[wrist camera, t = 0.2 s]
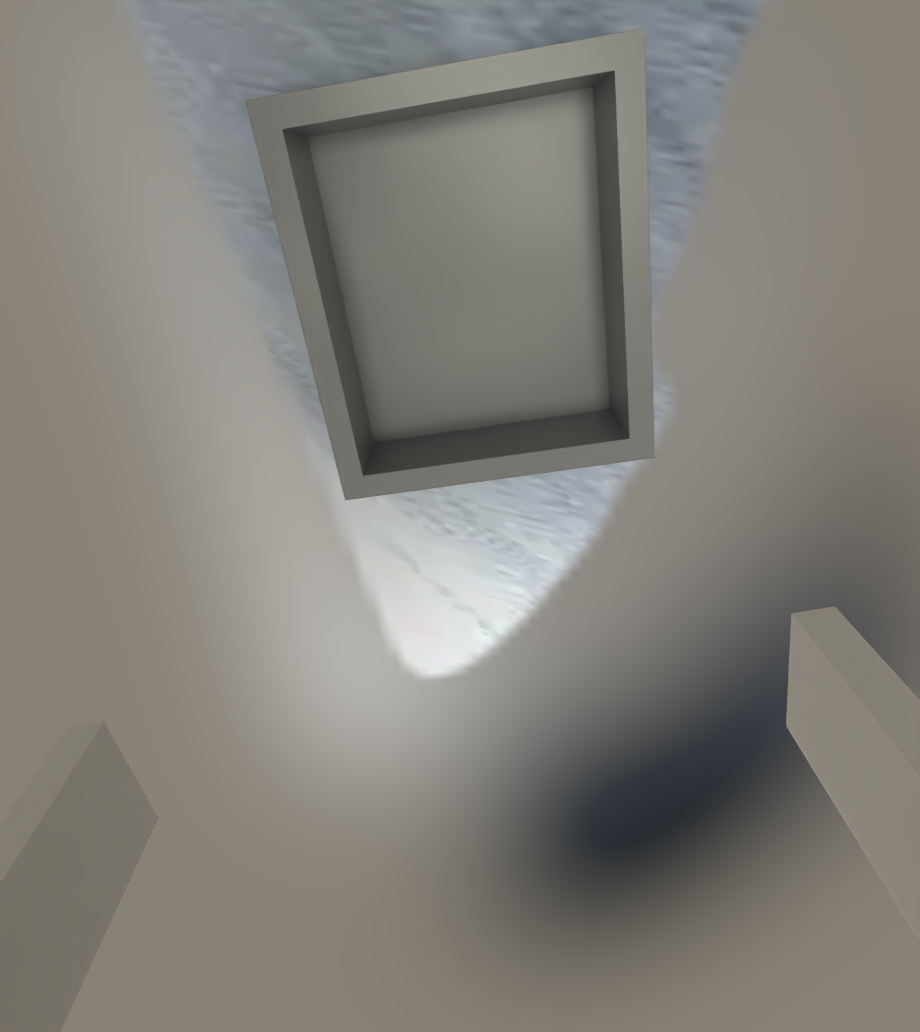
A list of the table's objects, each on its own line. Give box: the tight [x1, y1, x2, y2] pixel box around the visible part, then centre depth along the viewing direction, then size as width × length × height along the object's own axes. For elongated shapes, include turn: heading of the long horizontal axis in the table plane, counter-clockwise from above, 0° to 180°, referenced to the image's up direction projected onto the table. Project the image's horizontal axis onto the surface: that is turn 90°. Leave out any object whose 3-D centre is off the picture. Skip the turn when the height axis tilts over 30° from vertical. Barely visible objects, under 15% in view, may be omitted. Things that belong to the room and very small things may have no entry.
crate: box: [245, 28, 654, 500], centre depth 33 cm, size 18×16×6 cm
